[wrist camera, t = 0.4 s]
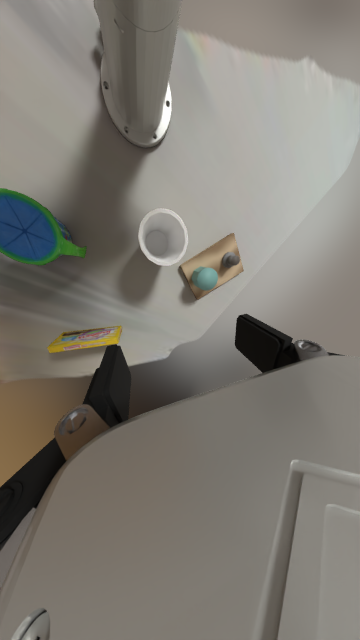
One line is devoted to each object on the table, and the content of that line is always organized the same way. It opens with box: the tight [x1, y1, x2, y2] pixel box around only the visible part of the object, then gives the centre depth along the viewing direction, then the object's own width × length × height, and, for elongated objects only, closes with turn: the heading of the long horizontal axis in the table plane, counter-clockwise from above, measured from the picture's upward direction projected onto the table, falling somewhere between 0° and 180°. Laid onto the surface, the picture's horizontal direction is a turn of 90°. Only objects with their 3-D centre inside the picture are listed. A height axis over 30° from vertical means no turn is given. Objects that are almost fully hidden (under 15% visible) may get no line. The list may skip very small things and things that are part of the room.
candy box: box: [47, 326, 122, 353], centre depth 39 cm, size 16×2×8 cm, turn 91°
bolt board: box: [180, 233, 244, 299], centre depth 42 cm, size 12×18×6 cm, turn 119°
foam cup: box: [138, 208, 188, 266], centre depth 32 cm, size 10×9×13 cm
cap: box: [191, 266, 218, 291], centre depth 41 cm, size 6×6×5 cm
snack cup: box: [0, 188, 87, 265], centre depth 27 cm, size 16×10×10 cm
